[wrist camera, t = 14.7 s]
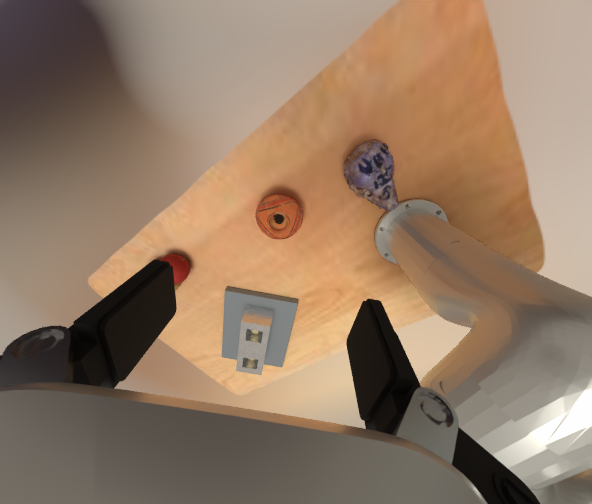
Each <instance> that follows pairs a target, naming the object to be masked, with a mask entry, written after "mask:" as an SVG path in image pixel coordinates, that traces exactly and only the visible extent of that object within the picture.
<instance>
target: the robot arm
mask: <svg viewBox="0 0 592 504" xmlns="http://www.w3.org/2000/svg"><path fill="white" fill-rule="evenodd" d="M406 205H407V206H406ZM380 227H382V228H380ZM374 241H375V246H376V248H377V250H378V251H379V253H380V254H381V255H382V257H383V258H385V259H386V260H388V261H389V262H392V263H395V264H398V265H399V266H400V267H401V269H402V270H403V271H404V273H405V274H406V275H407V277H408V278H409V280H410V281H411V282H412V284H413V285H414V286H415V288H416V289H417V291H418V292H419V293H420V295H421V296H422V297H423V299H424V300H425V301H426V303H427V304H428V305H429V307H430V308H431V309H432V310H433V311H434V312H435V313H436V314H437V315H439V316H440V317H442V318H444V319H445V320H447V321H450V322H452V323H455V324H458V325H461V326H466V327H470V328H471V330H470V332H469V333H468V334H467V335H466V336H465V337H464V338H463V339H462V340H461V341H460V342H459V344H458V345H457V346H456V347H455V348H454V349H453V350H452V351H451V352H450V353H449V354H448V355H446V356H445V357H444V358H443V359H442V360H441V361H440V362H439V363H438V364H437V365H436V366H435V367H434V368H432V370H430V371H429V372H428V373H427V374H426V376H425V377H424V378H423V379H422V381H421V382H420V383H419V381H418V379H417V377H416V375H415V373H414V370H413V368H412V366H411V364H410V362H409V359H408V357H407V355H406V353H405V351H404V349H403V346H402V344H401V342H400V340H399V338H398V335H397V334H396V332H395V331H394V329H393V327H392V325H391V323H390V320H389V318H388V316H387V314H386V312H385V309H384V307H383V305H382V303H381V301H379V300H373V299H367V300H366V301H363V302H362V305H361V307H360V309H359V312H358V314H357V316H356V319H355V321H354V324H353V326H352V328H351V331H350V333H349V335H348V338H347V350H348V354H349V360H350V366H351V370H352V376H353V382H354V387H355V392H356V397H357V403H358V408H359V413H360V417H361V419H362V420H364V421H365V426H366V429H363V428H357V427H352V426H347V425H341V424H336V423H330V422H324V421H318V420H312V419H305V418H300V417H294V416H287V415H281V414H276V413H269V412H262V411H257V410H251V409H244V408H238V407H232V406H225V405H219V404H213V403H206V402H200V401H193V400H187V399H180V398H174V397H167V396H161V395H155V394H148V393H142V392H135V391H128V390H121V389H114V387H116V385H117V384H118V383H119V381H123V380H125V379H126V377H127V376H128V375H129V373H130V372H131V371H132V370H133V368H134V367H135V366H136V365H137V363H138V362H139V361H140V359H141V358H142V357H143V355H144V354H145V352H146V351H147V350H148V349H149V347H150V346H151V345H152V344H153V342H154V341H155V340H156V338H157V337H158V336H159V334H160V333H161V332H162V331H163V329H164V328H165V327H166V325H167V324H168V323H169V321H170V320H171V319H172V318H173V316H174V315H175V313H176V296H175V285H174V273H173V267H172V266H171V265H170V263H169V262H167V261H161V260H153V261H152V262H150V263H149V264H148V265H146V266H145V267H144V268H143V269H141V270H140V271H139V272H137V273H136V274H135V275H134V276H132V277H131V278H130V279H128V280H127V281H126V282H124V283H123V284H122V285H121V286H119V287H118V288H117V289H115V290H114V291H113V292H112V293H110V294H109V295H108V296H106V297H105V298H104V299H103V300H101V301H100V302H99V303H97V304H96V305H95V306H93V307H92V308H91V309H90V310H88V311H87V312H86V313H84V314H83V315H82V316H80V317H79V318H78V319H77V320H75V321H74V324H73V325H72V326H71V327H70V328H66V327H63V326H48V327H42V328H39V329H36V330H33V331H30V332H28V333H26V334H24V335H22V336H20V337H19V338H17V339H16V340H14V341H13V342H12V343H10V344H9V345H8V346H7V348H6V349H5V351H4V352H3V355H1V356H0V504H592V297H590V296H588V295H585V294H583V293H581V292H578V291H576V290H573V289H571V288H568V287H566V286H564V285H561V284H559V283H557V282H554V281H552V280H550V279H548V278H546V277H544V276H541V275H539V274H537V273H535V272H533V271H531V270H529V269H527V268H526V267H524V266H522V265H520V264H518V263H516V262H514V261H513V260H511V259H509V258H507V257H506V256H504V255H502V254H500V253H499V252H497V251H495V250H493V249H492V248H490V247H488V246H486V245H485V244H483V243H481V242H480V241H478V240H476V239H475V238H473V237H471V236H469V235H468V234H466V233H464V232H463V231H461V230H459V229H458V228H456V227H454V226H452V225H451V224H449V223H448V219H447V215H446V214H445V212H444V210H443V209H442V208H441V207H440V206H438V205H437V204H435V203H433V202H431V201H428V200H424V199H411V200H406V201H403V202H400V203H398V206H396V208H395V209H394V210H388V211H387V212H386V213H385V214H384V215H383V216H382V217H381V219H380V220H379V222H378V224H377V226H376V229H375V233H374ZM385 253H386V254H385Z"/></svg>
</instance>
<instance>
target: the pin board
mask: <svg viewBox="0 0 592 504" xmlns="http://www.w3.org/2000/svg"><path fill="white" fill-rule="evenodd" d="M247 305H251V306H256V307H262V308H267V309H273V310H274V312H273V317H272V322H271V328H270V333H269V338H268V344H267V349H266V354H265V359H264V364H266V365H272V366H278V367H282V366H283V362H284V358H285V354H286V350H287V346H288V342H289V338H290V334H291V330H292V326H293V322H294V318H295V314H296V310H297V306H298V299H294V298H288V297H283V296H277V295H272V294H266V293H261V292H255V291H250V290H244V289H239V288H233V287H228V286H227V288H226V290H225V301H224V323H223V344H222V357H224V358H230V359H236V360H237V357H238V347H239V337H240V327H241V320H242V318H243V315H244V312H245V310H246V307H247ZM251 331H252V333H254V334H257V333H259V331H255V330H251ZM248 359H249V360H255V359H250V358H248Z"/></svg>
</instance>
